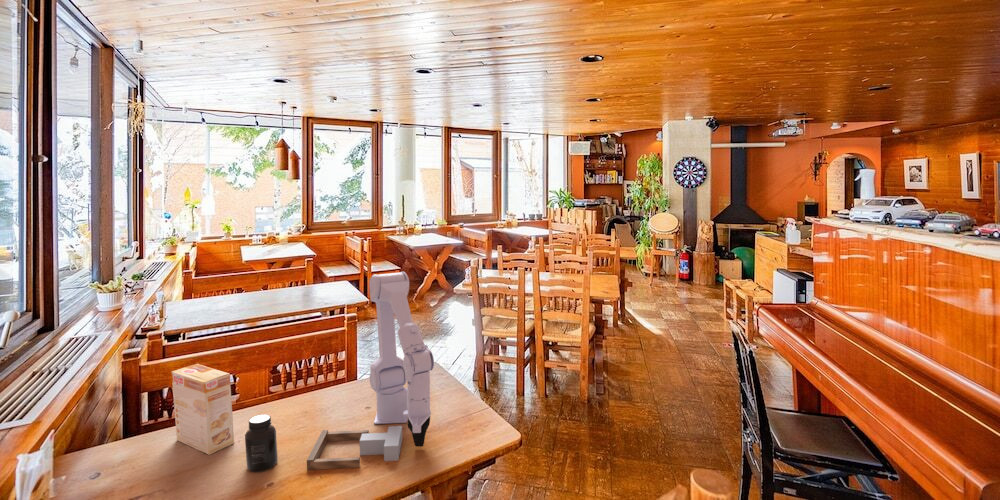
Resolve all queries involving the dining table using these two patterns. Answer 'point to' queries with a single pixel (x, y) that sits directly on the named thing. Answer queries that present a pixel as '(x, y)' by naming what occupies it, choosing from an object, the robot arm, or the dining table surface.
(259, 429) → the supplement bottle
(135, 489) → the dining table surface
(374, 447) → the tee block
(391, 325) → the robot arm
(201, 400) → the coffeecake box
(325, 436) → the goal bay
